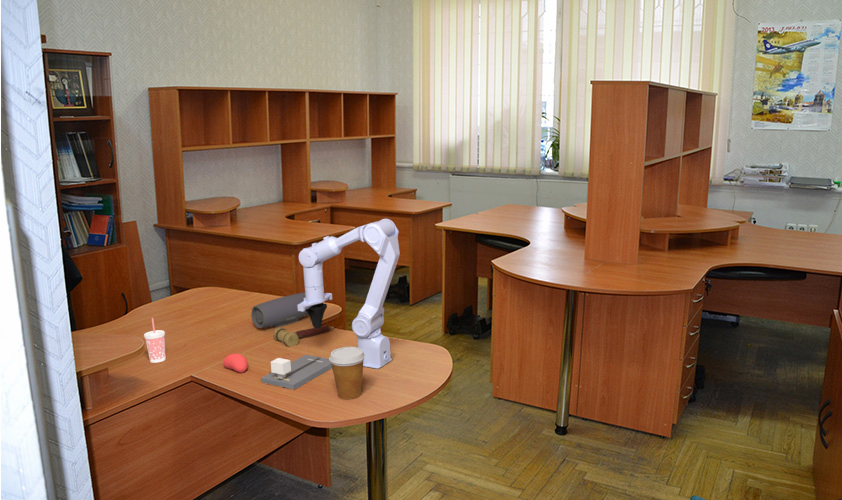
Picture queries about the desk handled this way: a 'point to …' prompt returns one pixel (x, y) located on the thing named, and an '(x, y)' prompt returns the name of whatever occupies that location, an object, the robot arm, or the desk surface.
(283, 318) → the bluetooth speaker
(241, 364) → the red kidney bean
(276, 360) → the fader
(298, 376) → the grey slider base
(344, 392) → the disposable coffee cup
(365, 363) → the robot arm
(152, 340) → the beverage cup
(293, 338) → the gavel
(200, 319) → the desk surface
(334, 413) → the desk surface
